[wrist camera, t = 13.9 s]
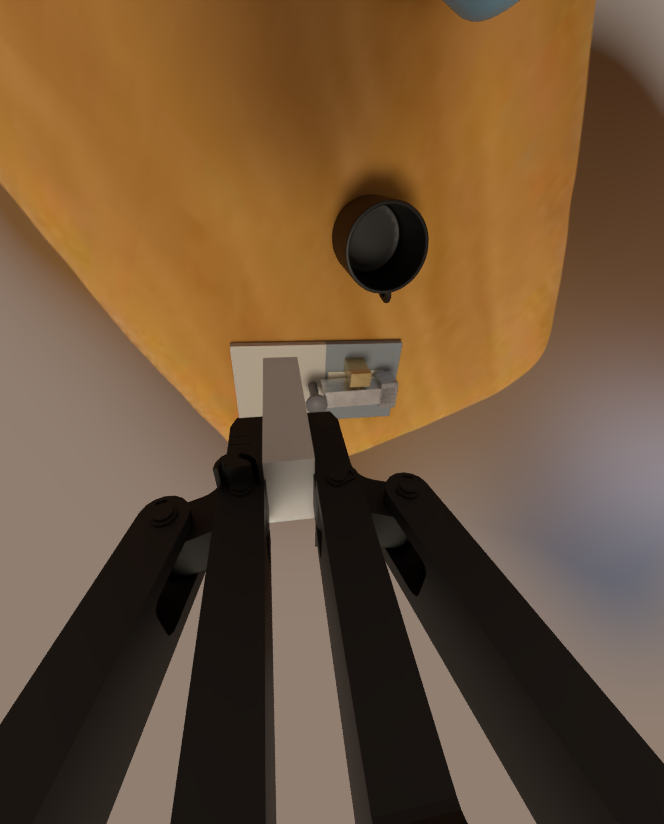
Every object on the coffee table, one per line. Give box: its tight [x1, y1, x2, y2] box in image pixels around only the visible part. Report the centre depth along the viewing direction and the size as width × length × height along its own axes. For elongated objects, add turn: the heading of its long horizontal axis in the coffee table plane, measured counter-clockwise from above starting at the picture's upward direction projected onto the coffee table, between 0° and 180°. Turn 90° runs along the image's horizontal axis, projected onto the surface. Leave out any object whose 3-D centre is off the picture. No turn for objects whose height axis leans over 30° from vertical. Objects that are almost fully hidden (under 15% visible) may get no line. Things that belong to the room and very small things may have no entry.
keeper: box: [344, 358, 372, 387], centre depth 51 cm, size 2×3×5 cm
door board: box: [230, 340, 402, 419], centre depth 52 cm, size 14×26×7 cm, turn 87°
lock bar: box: [320, 371, 398, 408], centre depth 53 cm, size 11×4×4 cm, turn 89°
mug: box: [332, 195, 428, 303], centre depth 41 cm, size 9×12×9 cm
